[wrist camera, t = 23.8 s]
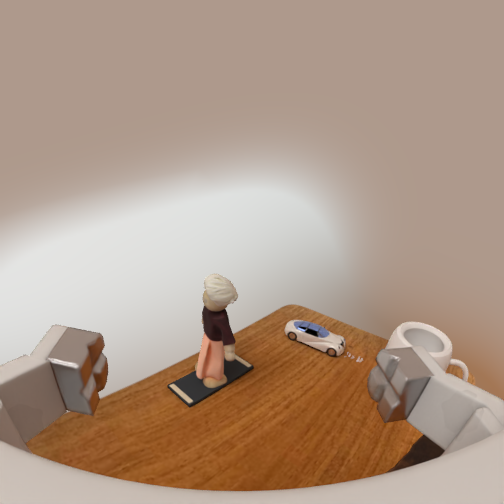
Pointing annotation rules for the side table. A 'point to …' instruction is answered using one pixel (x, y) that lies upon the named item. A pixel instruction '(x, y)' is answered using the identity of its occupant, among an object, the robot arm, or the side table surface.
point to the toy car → (316, 337)
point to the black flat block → (194, 388)
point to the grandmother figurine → (216, 331)
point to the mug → (426, 343)
